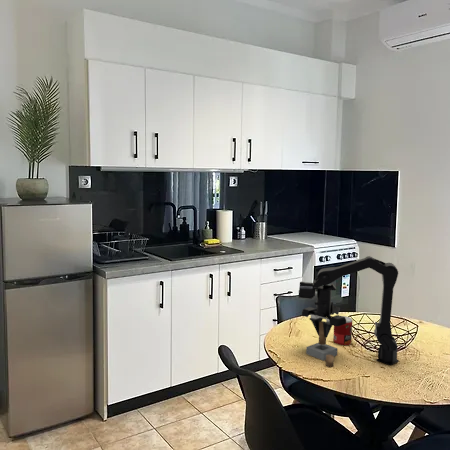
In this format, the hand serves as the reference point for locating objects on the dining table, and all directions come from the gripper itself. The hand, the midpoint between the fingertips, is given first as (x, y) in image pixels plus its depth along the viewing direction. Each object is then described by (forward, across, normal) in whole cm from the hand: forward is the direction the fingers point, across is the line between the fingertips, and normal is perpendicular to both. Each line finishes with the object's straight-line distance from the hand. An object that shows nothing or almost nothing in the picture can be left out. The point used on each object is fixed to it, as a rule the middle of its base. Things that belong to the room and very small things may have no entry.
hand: (322, 336), depth 195 cm
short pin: (+8, -9, +7) cm, 14 cm away
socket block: (+8, 0, 0) cm, 8 cm away
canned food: (+8, +3, -18) cm, 20 cm away
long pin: (+3, 0, 0) cm, 3 cm away
